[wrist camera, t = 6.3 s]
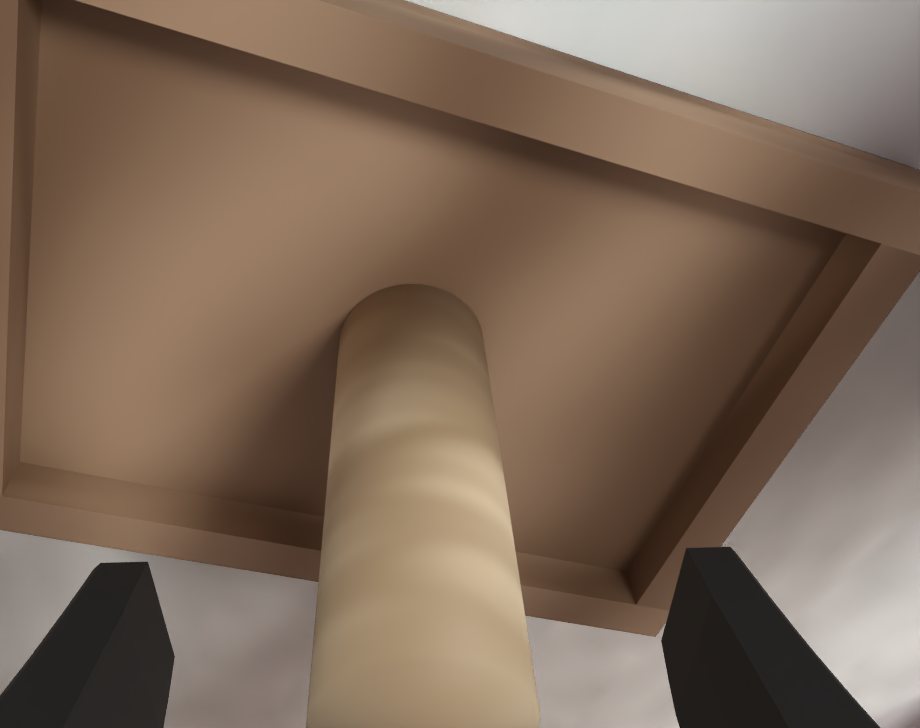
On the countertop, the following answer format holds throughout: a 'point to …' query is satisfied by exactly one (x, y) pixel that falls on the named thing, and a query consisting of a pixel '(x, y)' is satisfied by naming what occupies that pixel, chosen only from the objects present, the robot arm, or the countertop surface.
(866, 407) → the countertop surface
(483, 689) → the pin
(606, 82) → the tray
